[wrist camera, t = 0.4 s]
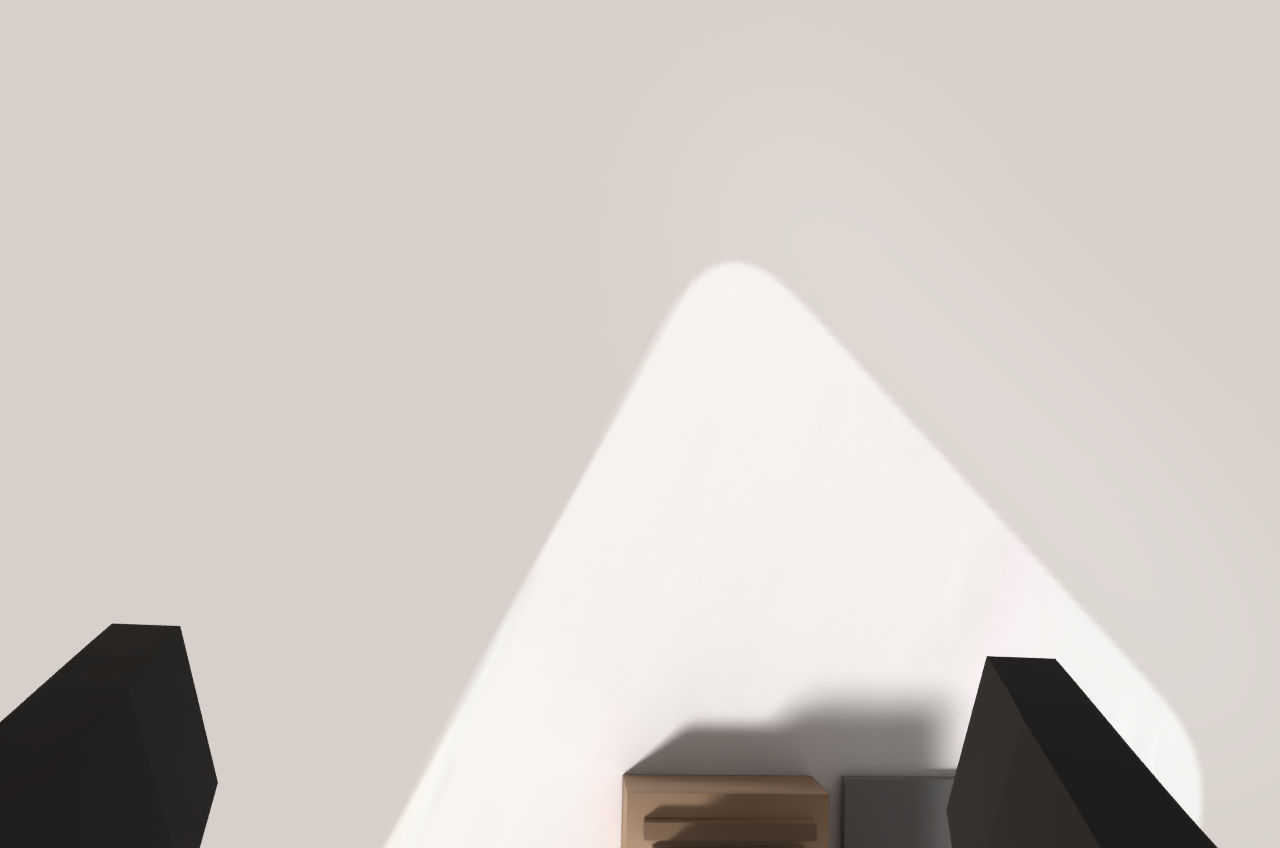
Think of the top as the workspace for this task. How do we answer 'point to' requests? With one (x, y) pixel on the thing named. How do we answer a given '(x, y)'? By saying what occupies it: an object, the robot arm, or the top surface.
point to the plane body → (723, 811)
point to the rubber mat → (895, 812)
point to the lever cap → (728, 847)
